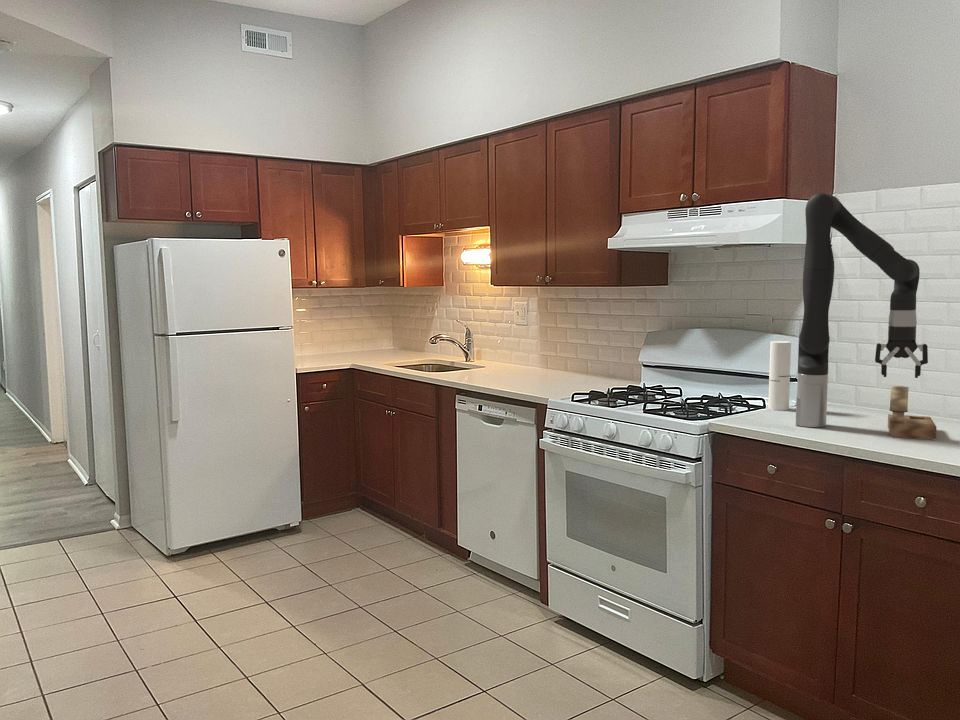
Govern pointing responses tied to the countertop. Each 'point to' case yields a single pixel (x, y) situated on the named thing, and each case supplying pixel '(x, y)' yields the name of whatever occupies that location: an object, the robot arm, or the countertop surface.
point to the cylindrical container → (779, 375)
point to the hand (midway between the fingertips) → (900, 377)
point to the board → (913, 427)
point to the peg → (898, 403)
